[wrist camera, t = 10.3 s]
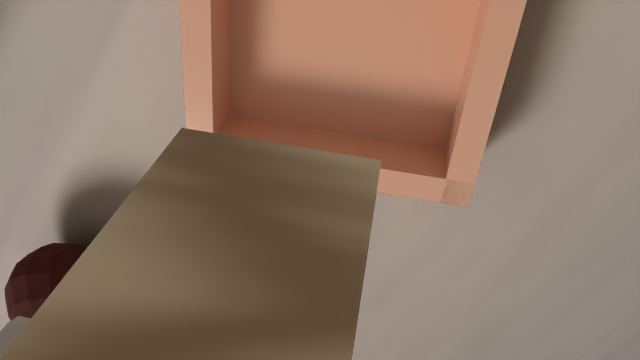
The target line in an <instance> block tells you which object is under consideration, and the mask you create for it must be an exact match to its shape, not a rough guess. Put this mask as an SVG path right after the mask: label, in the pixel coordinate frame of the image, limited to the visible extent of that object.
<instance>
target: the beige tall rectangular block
mask: <svg viewBox="0 0 640 360" xmlns="http://www.w3.org/2000/svg"><path fill="white" fill-rule="evenodd" d="M380 166H381V160H377V159H371V158H364V157H358V156H352V155H346V154H340V153H334V152H328V151H321V150H315V149H309V148H303V147H297V146H291V145H285V144H279V143H272V142H266V141H260V140H254V139H248V138H242V137H236V136H229V135H223V134H217V133H211V132H205V131H199V130H193V129H187V128H181V130H180V131H179V132H178V133H177V135H176V136H175V137H174V139H173V140H172V141H171V142H170V144H169V145H168V146H167V147H166V149H165V150H164V151H163V152H162V154H161V155H160V156H159V158H158V159H157V160H156V161H155V163H154V164H153V165H152V166H151V168H150V169H149V170H148V171H147V173H146V174H145V175H144V176H143V178H142V179H141V180H140V182H139V183H138V184H137V185H136V187H135V188H134V189H133V190H132V192H131V193H130V194H129V195H128V197H127V198H126V199H125V201H124V202H123V203H122V204H121V206H120V207H119V208H118V209H117V211H116V212H115V213H114V214H113V216H112V217H111V218H110V219H109V221H108V222H107V223H106V225H105V226H104V227H103V228H102V230H101V231H100V232H99V233H98V235H97V236H96V237H95V238H94V240H93V241H92V242H91V244H90V245H89V246H88V247H87V249H86V250H85V251H84V252H83V254H82V255H81V256H80V257H79V259H78V260H77V261H76V262H75V264H74V265H73V266H72V268H71V269H70V270H69V271H68V273H67V274H66V275H65V276H64V278H63V279H62V280H61V281H60V283H59V284H58V285H57V287H56V288H55V289H54V290H53V292H52V293H51V294H50V295H49V297H48V298H47V299H46V300H45V302H44V303H43V304H42V306H41V307H40V308H39V309H38V311H37V312H36V313H35V314H34V316H33V317H32V318H31V319H30V321H29V322H28V323H27V324H26V326H25V327H24V328H23V330H22V331H21V332H20V333H19V335H18V336H17V337H16V338H15V340H14V341H13V342H12V343H11V345H10V346H9V347H8V349H7V350H6V351H5V352H4V354H3V355H2V356H1V357H0V360H352V354H353V347H354V340H355V334H356V327H357V320H358V313H359V307H360V300H361V293H362V287H363V280H364V273H365V267H366V260H367V253H368V247H369V240H370V233H371V227H372V220H373V213H374V207H375V200H376V193H377V186H378V180H379V173H380Z"/></svg>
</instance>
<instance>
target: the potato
mask: <svg viewBox="0 0 640 360" xmlns="http://www.w3.org/2000/svg"><path fill="white" fill-rule="evenodd" d="M87 247H88V246H87V245H77V244H62V243H52V244H49V245H46V246H43V247H40V248H39V249H37V250H35V251H33V252H32V253H30V254H28V255H27V256H26V257H24V258H23V259H22V260H21V261H19V262H18V263H17V264H16V266H15V267H14V269H13V271H12V273H11V275H10V278H9V280H8V282H7V285H6V287H5V300H6V305H7V311H8V316H9V318H10V320H13V319H15V318H16V317H18V316H21V317H26V318H32V317H33V316H34V314H35V313H36V312H37V311H38V309H39V308H40V307H41V306H42V304H43V303H44V302H45V300H46V299H47V298H48V297H49V295H50V294H51V293H52V292H53V290H54V289H55V288H56V287H57V285H58V284H59V283H60V281H61V280H62V279H63V278H64V276H65V275H66V274H67V273H68V271H69V270H70V269H71V268H72V266H73V265H74V264H75V262H76V261H77V260H78V259H79V257H80V256H81V255H82V254H83V252H84V251H85V250H86V249H87Z"/></svg>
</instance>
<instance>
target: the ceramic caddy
mask: <svg viewBox="0 0 640 360" xmlns="http://www.w3.org/2000/svg"><path fill="white" fill-rule="evenodd" d="M526 2H527V0H180V17H181V37H182V58H183V79H184V99H185V120H186V128H187V129H193V130H199V131H205V132H211V133H217V134H223V135H229V136H236V137H242V138H248V139H254V140H260V141H266V142H272V143H279V144H285V145H291V146H297V147H303V148H309V149H315V150H321V151H328V152H334V153H340V154H346V155H352V156H358V157H364V158H371V159H377V160H381V166H380V173H379V180H378V186H377V192H379V193H385V194H391V195H397V196H403V197H410V198H416V199H422V200H428V201H434V202H440V203H446V204H452V205H458V206H464V207H469V204H470V200H471V196H472V193H473V189H474V186H475V182H476V179H477V175H478V172H479V168H480V165H481V161H482V158H483V154H484V151H485V147H486V144H487V140H488V136H489V133H490V129H491V126H492V122H493V119H494V115H495V112H496V108H497V105H498V101H499V98H500V94H501V91H502V87H503V83H504V80H505V76H506V73H507V69H508V66H509V62H510V59H511V55H512V52H513V48H514V45H515V41H516V38H517V34H518V30H519V27H520V23H521V20H522V16H523V13H524V9H525V6H526Z"/></svg>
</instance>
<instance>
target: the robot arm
mask: <svg viewBox="0 0 640 360" xmlns="http://www.w3.org/2000/svg"><path fill="white" fill-rule="evenodd" d="M30 319H31V318H26V317H21V316H18V317H16V318H15V319H13V320H11V321H10V322H8V323H7V324H6V325H5V327H4V328H3V329H2V330H1V331H0V357H1V356H2V355H3V354H4V352H5V351H6V350H7V349H8V347H9V346H10V345H11V343H12V342H13V341H14V340H15V338H16V337H17V336H18V335H19V333H20V332H21V331H22V330H23V328H24V327H25V326H26V324H27V323H28V322H29V321H30Z"/></svg>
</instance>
